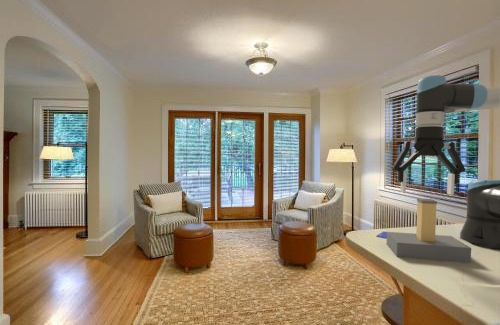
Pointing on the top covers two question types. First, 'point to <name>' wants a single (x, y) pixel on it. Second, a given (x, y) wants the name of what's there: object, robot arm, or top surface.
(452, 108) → the robot arm
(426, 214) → the plug
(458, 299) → the top surface
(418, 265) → the top surface
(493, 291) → the top surface
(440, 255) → the socket block
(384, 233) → the hard drive
